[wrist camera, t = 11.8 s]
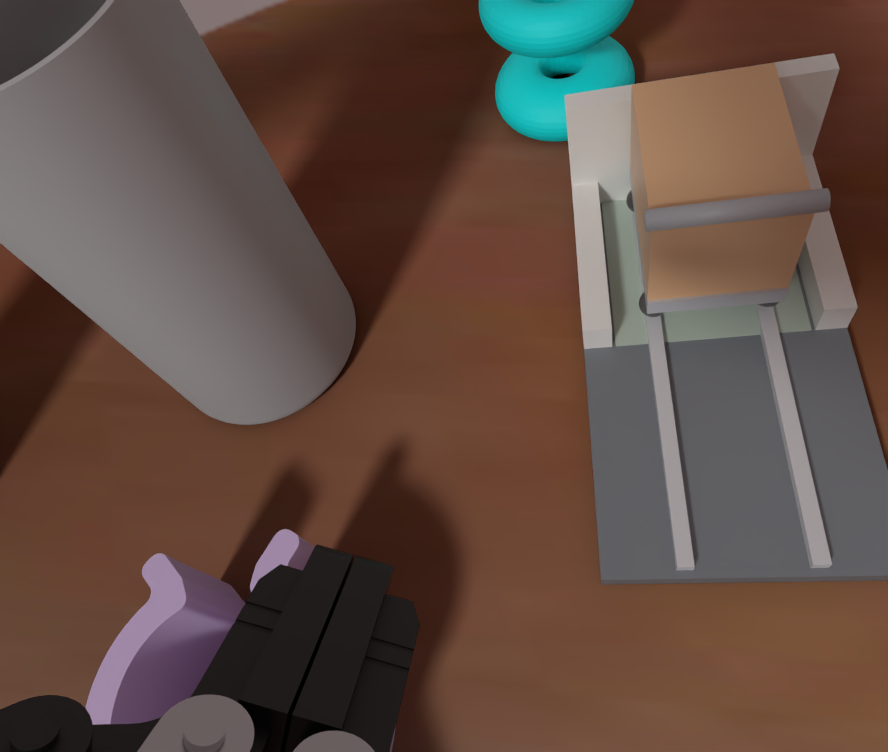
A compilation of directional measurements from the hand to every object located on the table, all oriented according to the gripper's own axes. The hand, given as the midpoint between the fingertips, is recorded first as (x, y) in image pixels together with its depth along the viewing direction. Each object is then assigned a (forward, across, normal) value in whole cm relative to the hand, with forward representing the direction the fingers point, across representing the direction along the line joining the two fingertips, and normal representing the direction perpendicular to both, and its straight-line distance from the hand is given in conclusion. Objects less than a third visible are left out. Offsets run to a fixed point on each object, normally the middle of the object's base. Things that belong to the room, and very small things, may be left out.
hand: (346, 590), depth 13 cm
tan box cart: (+32, -12, -2) cm, 35 cm away
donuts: (+47, -3, -8) cm, 47 cm away
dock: (+29, -14, +3) cm, 32 cm away
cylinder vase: (+32, +12, +11) cm, 36 cm away
